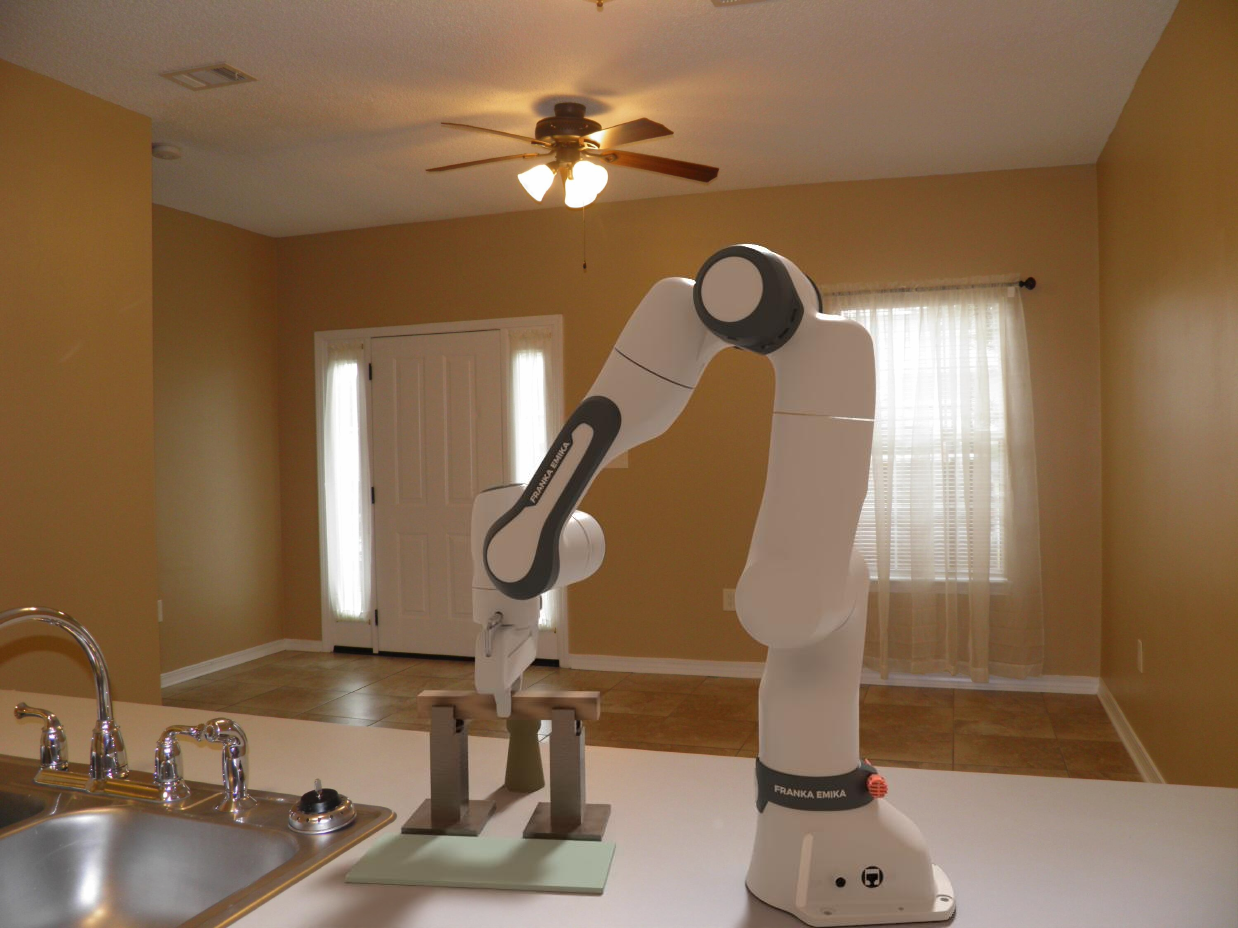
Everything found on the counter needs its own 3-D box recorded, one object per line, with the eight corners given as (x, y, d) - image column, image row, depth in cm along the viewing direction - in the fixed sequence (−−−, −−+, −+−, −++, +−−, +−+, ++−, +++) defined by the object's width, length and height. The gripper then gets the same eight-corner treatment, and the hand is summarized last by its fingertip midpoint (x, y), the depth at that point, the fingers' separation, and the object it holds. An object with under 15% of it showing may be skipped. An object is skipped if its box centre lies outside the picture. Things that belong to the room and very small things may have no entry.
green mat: (615, 846, 115) (615, 841, 115) (603, 893, 103) (602, 887, 103) (383, 837, 118) (383, 833, 118) (344, 881, 106) (344, 876, 106)
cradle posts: (610, 811, 126) (609, 694, 125) (601, 842, 116) (599, 715, 115) (426, 805, 129) (424, 690, 128) (401, 835, 119) (399, 711, 119)
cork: (525, 795, 132) (524, 718, 132) (495, 786, 136) (494, 712, 135) (553, 782, 137) (552, 709, 137) (523, 774, 140) (522, 702, 140)
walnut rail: (600, 713, 122) (599, 691, 122) (597, 720, 119) (596, 697, 119) (424, 712, 125) (424, 690, 125) (417, 718, 122) (416, 695, 122)
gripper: (511, 620, 111) (514, 735, 111) (544, 594, 131) (547, 691, 132) (460, 621, 112) (463, 734, 112) (501, 594, 132) (503, 690, 132)
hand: (509, 710), depth 122 cm, fingers closed on walnut rail, 3 cm apart
